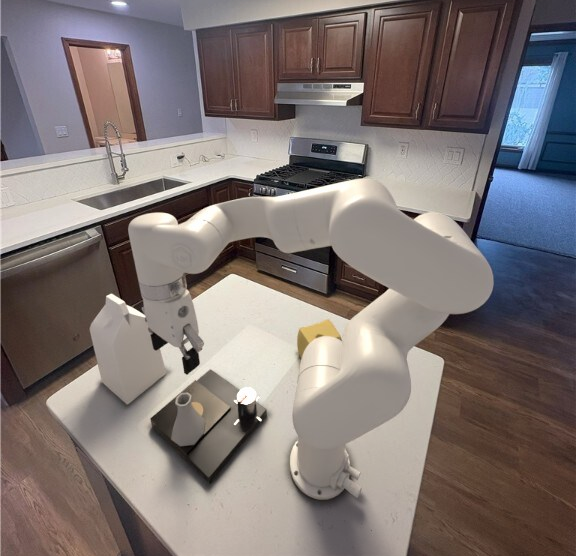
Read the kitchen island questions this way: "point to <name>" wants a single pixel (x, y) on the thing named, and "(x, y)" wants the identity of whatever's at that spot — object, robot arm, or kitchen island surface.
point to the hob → (220, 430)
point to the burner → (202, 403)
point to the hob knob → (246, 403)
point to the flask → (187, 422)
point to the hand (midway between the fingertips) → (176, 357)
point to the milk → (125, 350)
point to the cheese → (315, 334)
